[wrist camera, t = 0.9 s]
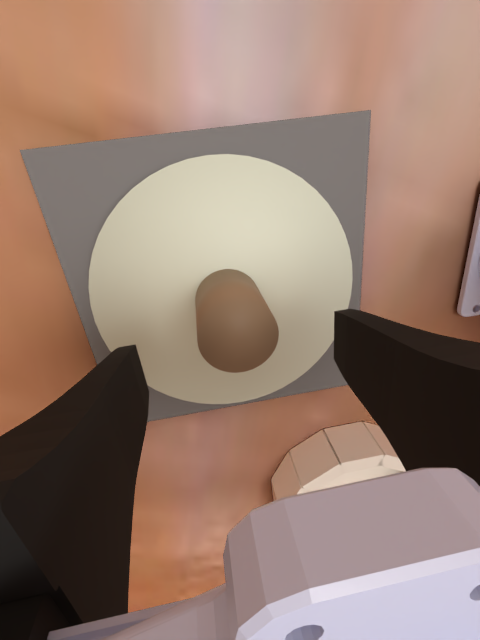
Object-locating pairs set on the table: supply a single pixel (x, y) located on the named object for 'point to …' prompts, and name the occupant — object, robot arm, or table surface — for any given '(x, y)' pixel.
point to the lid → (221, 277)
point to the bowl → (335, 460)
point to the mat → (166, 149)
